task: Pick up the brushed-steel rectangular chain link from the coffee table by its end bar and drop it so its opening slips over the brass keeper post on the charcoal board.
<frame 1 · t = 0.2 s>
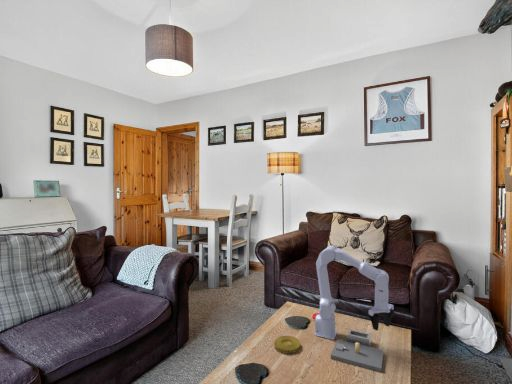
hand: (381, 327, 131), 9 cm above the table, fingers open, 7 cm apart
olive flat disc: (287, 347, 133), on the table
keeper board: (357, 355, 125), on the table
steel link: (358, 342, 136), on the table
tow hook: (320, 318, 161), on the table
chain anchor: (339, 351, 128), resting on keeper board
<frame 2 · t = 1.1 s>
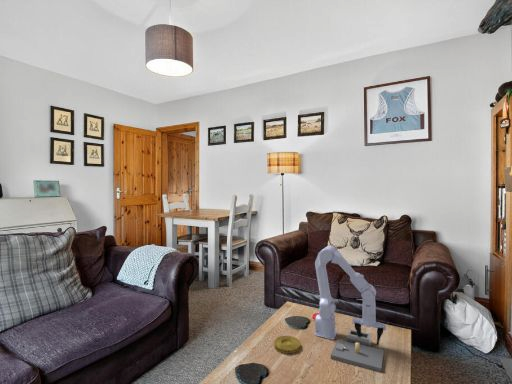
hand: (368, 341, 133), 2 cm above the table, fingers open, 7 cm apart
nothing on the table moved.
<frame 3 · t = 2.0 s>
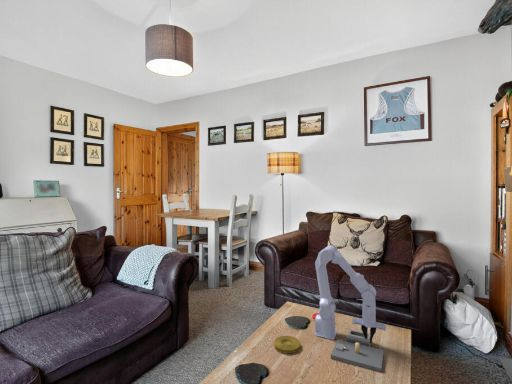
hand: (368, 341, 133), 1 cm above the table, fingers closed on steel link
steel link: (358, 342, 136), on the table, touching gripper
everything else where it was.
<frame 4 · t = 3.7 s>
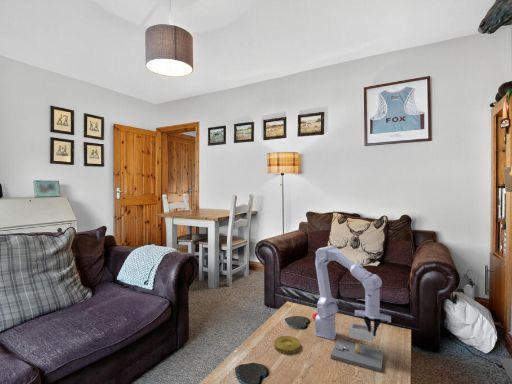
hand: (372, 334, 125), 9 cm above the table, fingers closed on steel link
steel link: (362, 336, 127), point 8 cm above the table, touching gripper
everything else where it was.
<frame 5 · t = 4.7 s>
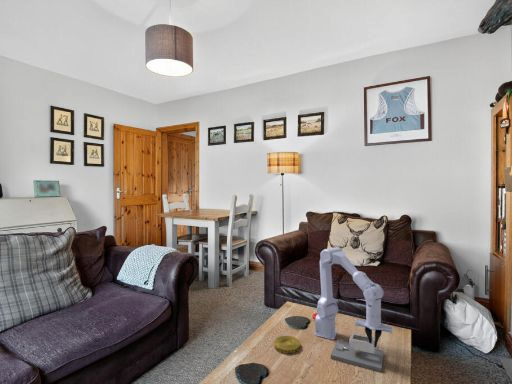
hand: (373, 345, 122), 6 cm above the table, fingers closed on steel link
steel link: (362, 347, 124), point 4 cm above the table, touching gripper
everything else where it was.
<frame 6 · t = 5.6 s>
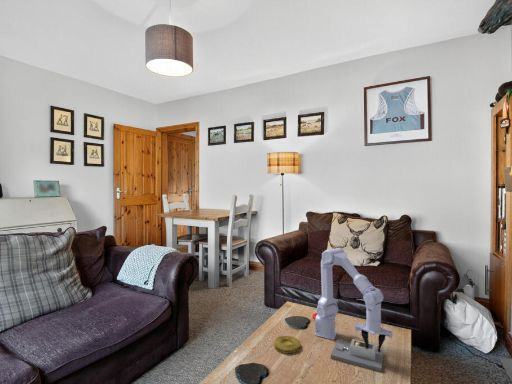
hand: (373, 349, 122), 4 cm above the table, fingers open, 4 cm apart
steel link: (363, 354, 124), point 1 cm above the table, touching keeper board
everything else where it was.
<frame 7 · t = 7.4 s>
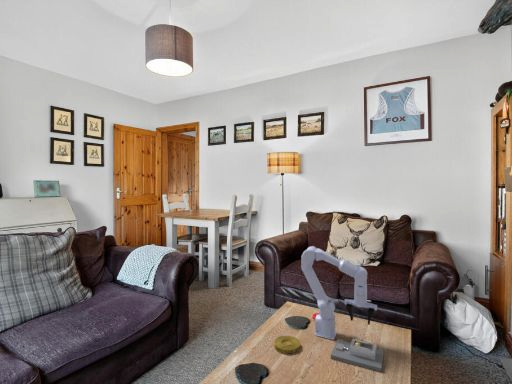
hand: (360, 321, 137), 9 cm above the table, fingers open, 7 cm apart
nothing on the table moved.
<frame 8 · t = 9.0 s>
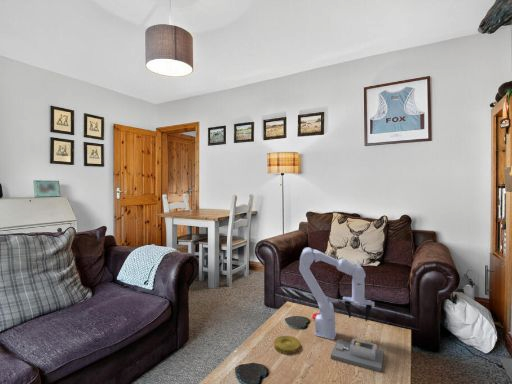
hand: (358, 318, 140), 9 cm above the table, fingers open, 7 cm apart
nothing on the table moved.
at the end: steel link inside the target area on the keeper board (2.4 cm from its centre), point 1.5 cm above the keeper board's base; steel link tilted 0°; the gripper is holding nothing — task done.
